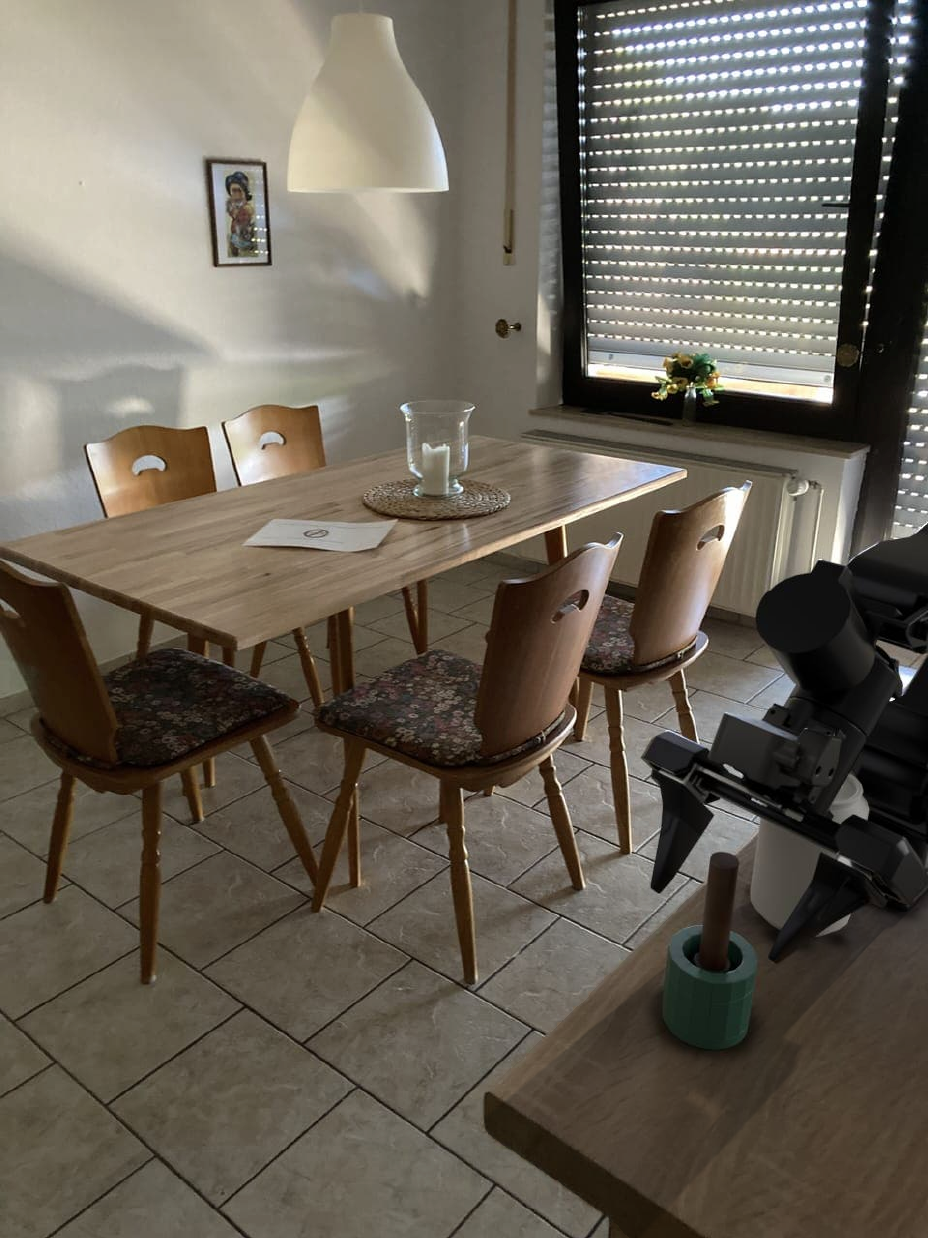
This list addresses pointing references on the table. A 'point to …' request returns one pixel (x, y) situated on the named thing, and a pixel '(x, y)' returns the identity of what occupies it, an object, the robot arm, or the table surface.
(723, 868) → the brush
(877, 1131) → the table surface
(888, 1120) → the table surface
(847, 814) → the can
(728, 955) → the teal hollow cylinder
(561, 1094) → the table surface
